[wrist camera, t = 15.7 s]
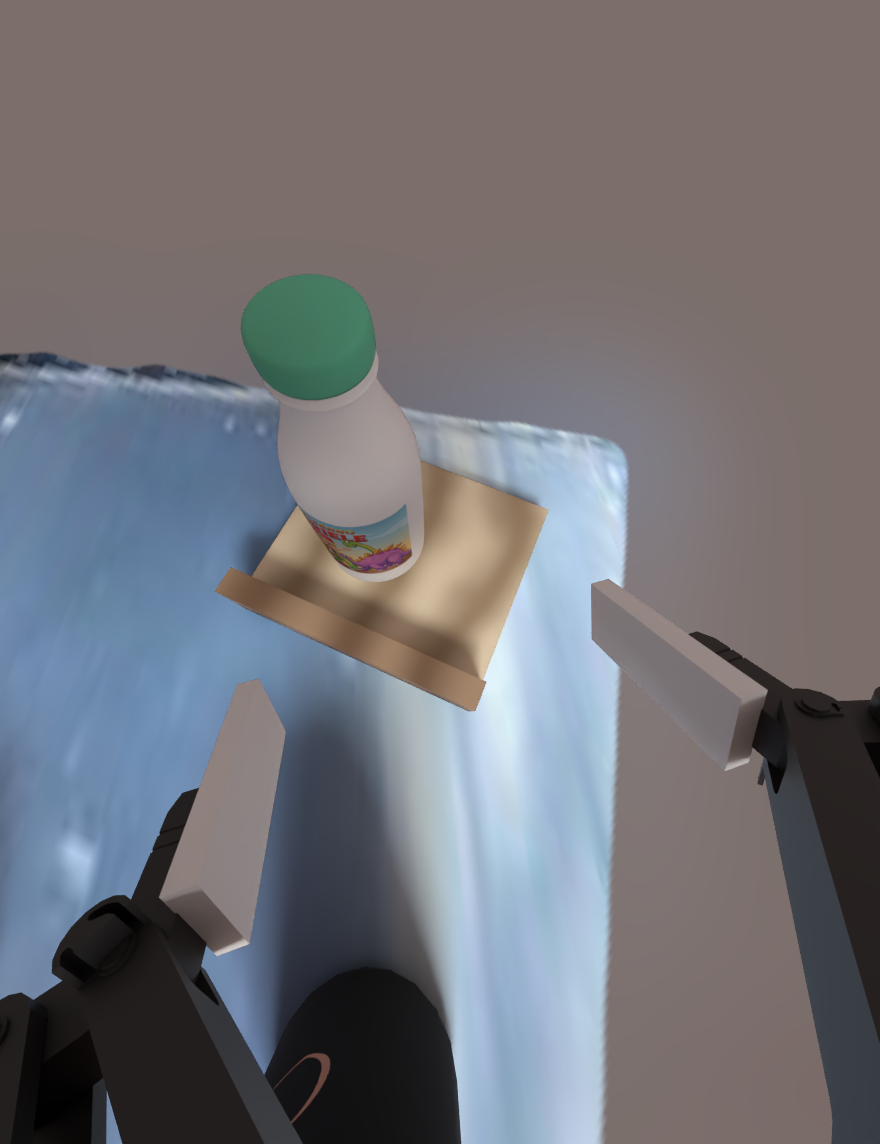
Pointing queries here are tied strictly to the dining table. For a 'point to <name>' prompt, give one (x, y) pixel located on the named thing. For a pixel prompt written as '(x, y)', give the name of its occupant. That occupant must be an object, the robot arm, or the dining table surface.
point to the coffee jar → (367, 1065)
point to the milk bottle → (338, 424)
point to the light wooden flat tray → (408, 589)
